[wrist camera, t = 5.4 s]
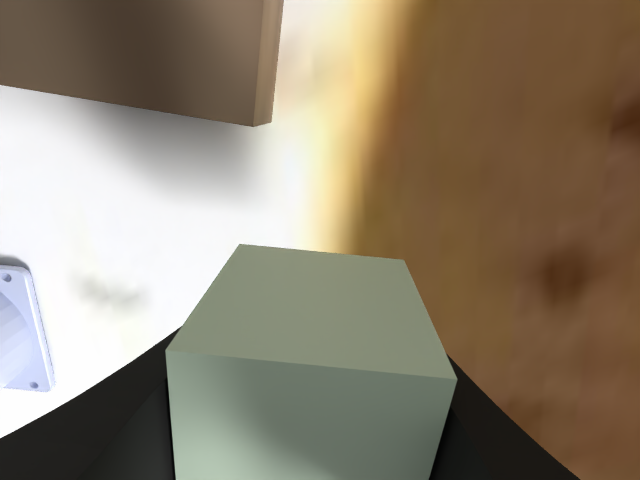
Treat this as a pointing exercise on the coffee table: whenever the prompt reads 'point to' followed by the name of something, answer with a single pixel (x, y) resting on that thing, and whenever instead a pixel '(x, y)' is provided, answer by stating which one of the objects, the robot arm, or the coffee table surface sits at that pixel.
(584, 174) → the coffee table surface
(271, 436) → the sage cube
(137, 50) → the walnut block
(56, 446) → the robot arm
